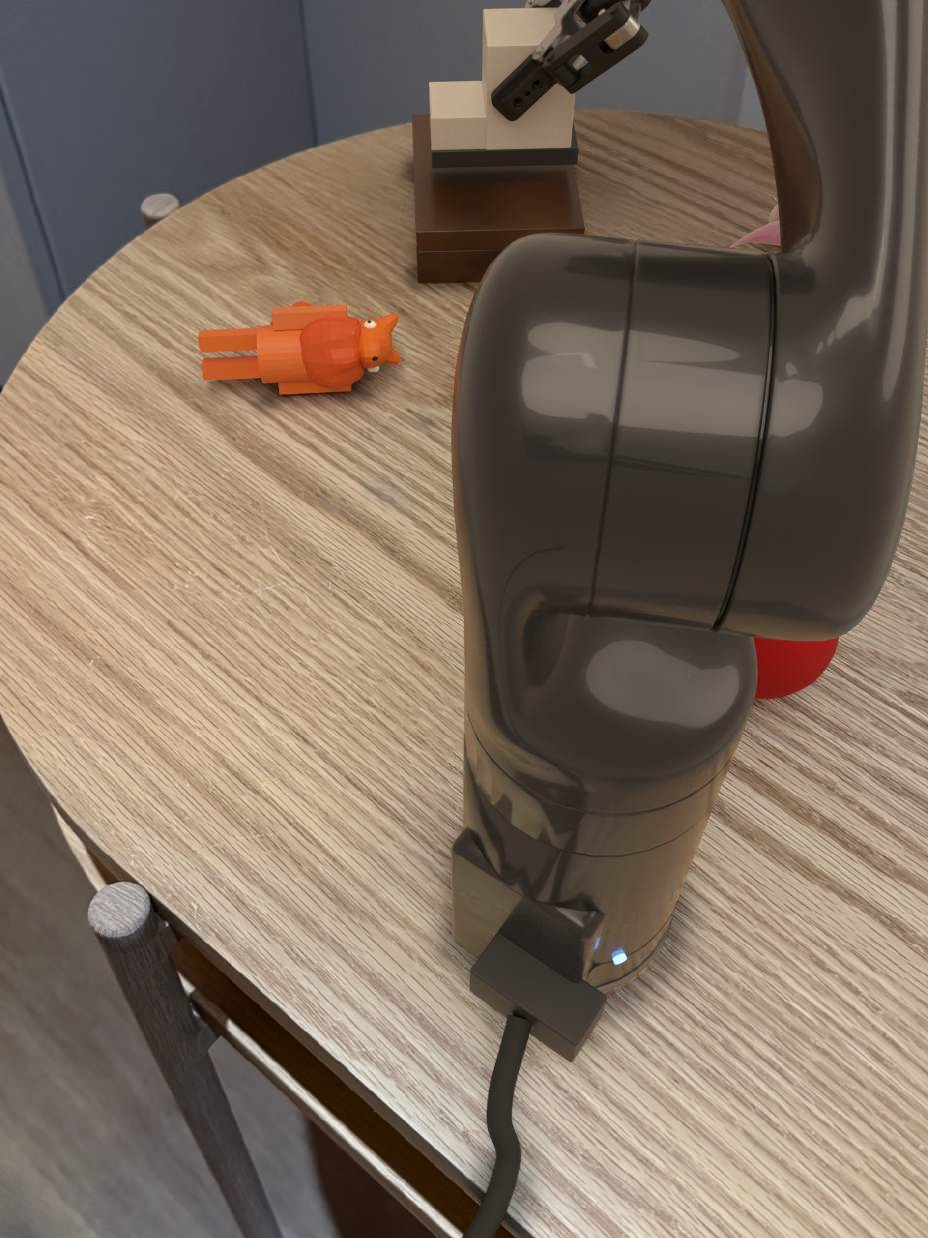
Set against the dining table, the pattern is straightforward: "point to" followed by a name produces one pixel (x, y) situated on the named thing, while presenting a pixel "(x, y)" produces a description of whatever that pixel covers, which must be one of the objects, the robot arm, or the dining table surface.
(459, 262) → the brown lidded case
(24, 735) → the dining table surface
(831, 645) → the christmas ornament
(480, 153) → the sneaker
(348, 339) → the orange toy figure
